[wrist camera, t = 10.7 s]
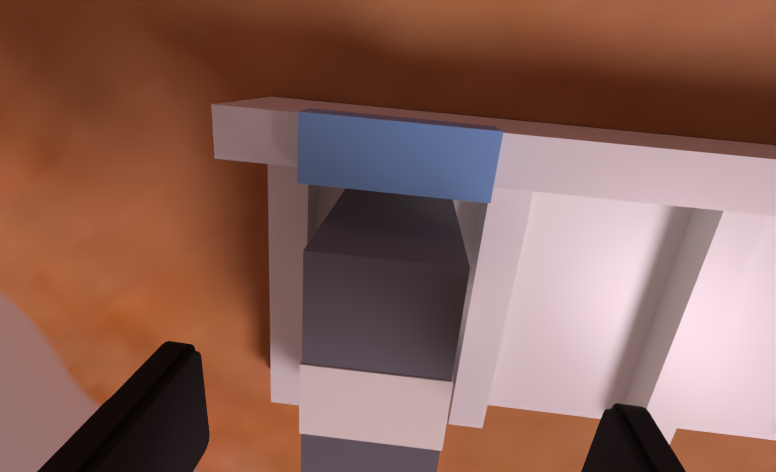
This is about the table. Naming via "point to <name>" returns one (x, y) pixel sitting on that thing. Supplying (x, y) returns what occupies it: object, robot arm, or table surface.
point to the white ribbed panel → (549, 254)
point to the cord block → (380, 333)
